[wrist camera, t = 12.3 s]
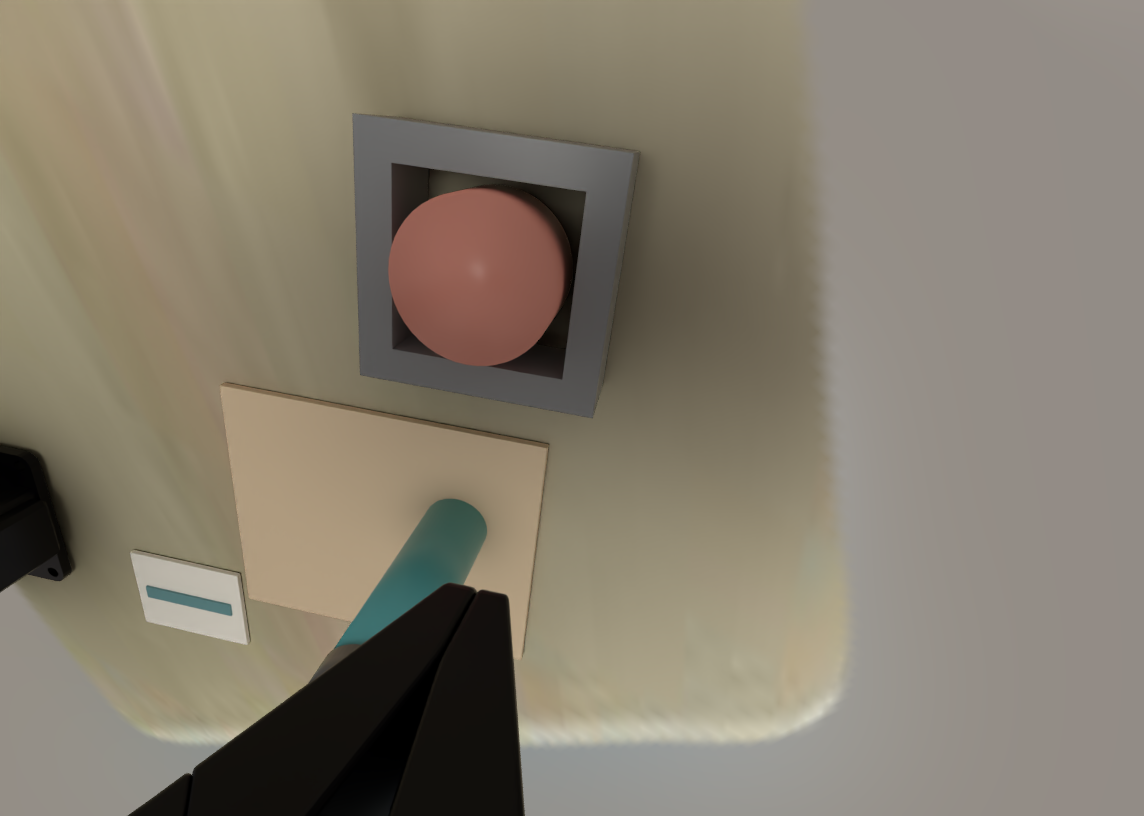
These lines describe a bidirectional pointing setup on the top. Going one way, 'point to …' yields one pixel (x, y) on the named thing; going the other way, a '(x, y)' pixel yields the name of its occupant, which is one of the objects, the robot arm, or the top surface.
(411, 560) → the marker
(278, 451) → the beige rectangular board
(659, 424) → the top surface
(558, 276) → the button
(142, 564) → the card
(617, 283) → the button housing
